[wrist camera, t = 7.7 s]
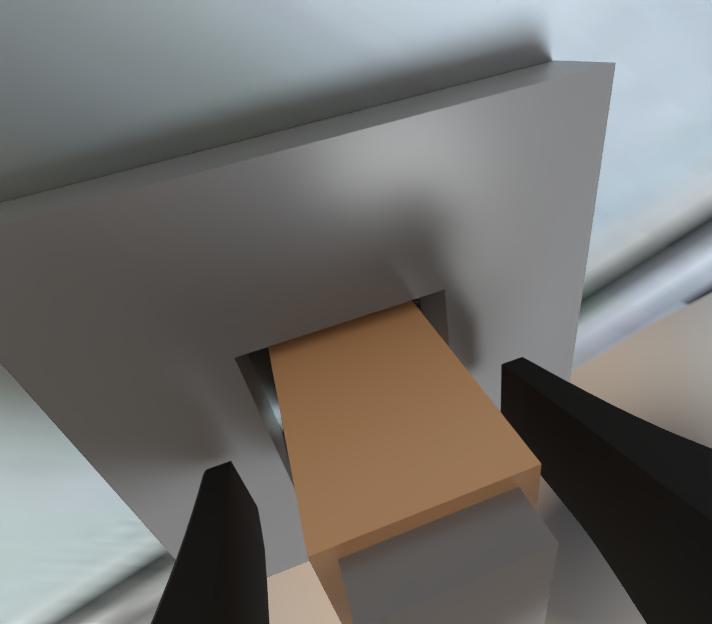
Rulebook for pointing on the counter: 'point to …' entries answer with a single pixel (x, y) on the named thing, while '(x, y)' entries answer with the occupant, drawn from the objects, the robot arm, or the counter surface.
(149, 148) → the counter surface
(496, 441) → the plug
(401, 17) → the counter surface
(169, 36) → the counter surface
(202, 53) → the counter surface
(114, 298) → the socket plate
